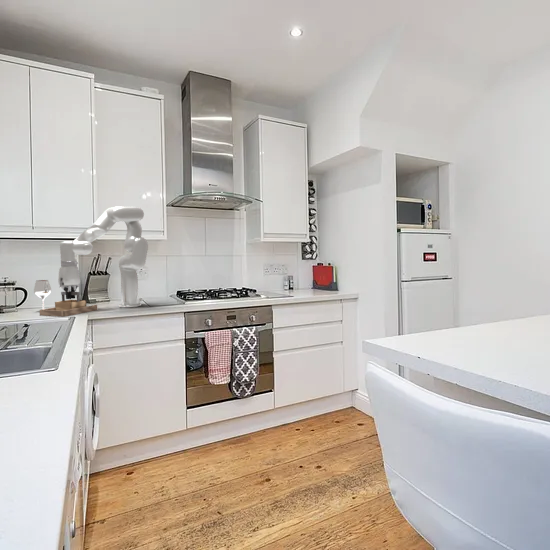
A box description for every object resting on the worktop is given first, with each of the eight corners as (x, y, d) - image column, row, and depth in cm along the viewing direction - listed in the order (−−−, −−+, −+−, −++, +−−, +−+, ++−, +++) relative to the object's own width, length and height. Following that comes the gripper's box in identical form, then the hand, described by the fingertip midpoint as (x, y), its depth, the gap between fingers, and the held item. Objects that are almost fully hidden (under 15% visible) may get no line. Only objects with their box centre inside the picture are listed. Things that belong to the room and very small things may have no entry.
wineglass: (35, 314, 202) (33, 281, 200) (34, 312, 208) (32, 280, 207) (53, 312, 206) (51, 280, 205) (51, 311, 213) (49, 279, 212)
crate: (71, 310, 207) (70, 290, 207) (86, 311, 204) (85, 291, 203) (55, 313, 198) (54, 292, 197) (71, 314, 194) (70, 293, 194)
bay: (75, 310, 213) (75, 303, 213) (97, 312, 208) (97, 304, 207) (39, 317, 192) (39, 309, 192) (63, 319, 187) (63, 311, 187)
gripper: (75, 263, 208) (77, 296, 209) (50, 265, 193) (52, 300, 194) (86, 264, 205) (87, 297, 207) (61, 265, 190) (63, 300, 192)
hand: (70, 298), depth 200 cm, fingers closed on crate, 2 cm apart
